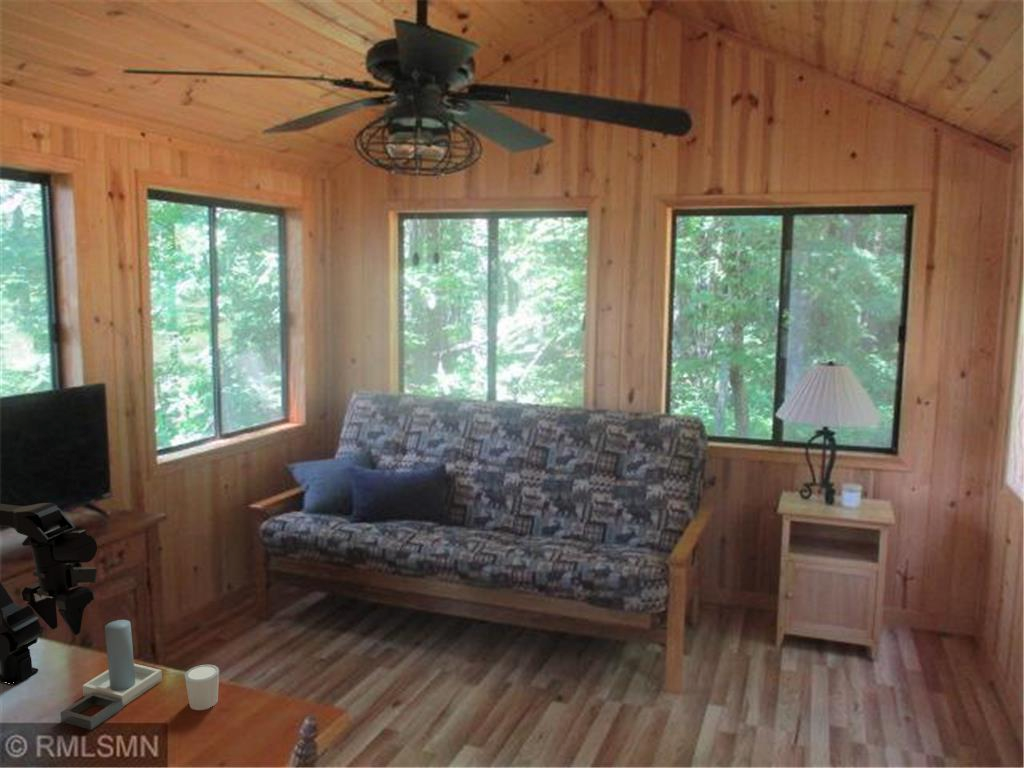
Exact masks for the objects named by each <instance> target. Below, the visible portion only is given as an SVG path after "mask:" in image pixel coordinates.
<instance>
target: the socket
mask: <svg viewBox="0 0 1024 768" xmlns="http://www.w3.org/2000/svg"><path fill="white" fill-rule="evenodd" d="M93 705H96V706H99V707H102V709H101V710H99V711H98V712H97V713H95V714H94V715H92V716H88V715H84V714H81V713H82V712H83V711H84V712H85V710H86V709H89V708H90V707H91V706H93ZM121 709H122V710H123V709H124V706H123V703H122V700H121V699H117V698H113V697H110V696H106V695H102V694H99V693H95V692H92V693H91V694H89V695H88V696H86V697H85V696H83V698H82V699H79V700H78V701H76V702H75V703H74V704H72V705H70V706H68V707H67V708H65V709H63V710H62V711H60V720H61V721H60V722H63V723H66V724H70V725H73V726H76V727H80V728H82V729H86V730H90V731H92V730H94V729H95V728H97V727H98V726H100V725H101V724H103V723H104V722H105V721H106V720H108V719H110V718H111V717H113V716H115V714H117V713H119V712H120V711H121Z"/></svg>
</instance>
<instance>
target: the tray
mask: <svg viewBox="0 0 1024 768" xmlns="http://www.w3.org/2000/svg"><path fill="white" fill-rule="evenodd" d="M134 671H135V684H134V686H132V687H131V688H129V689H126V690H122V691H113V690H111V689H110V680H109V669H107V670H105V671H103V672H102V673H100V674H99V675H97V676H96V677H93V678H92V679H90V680H89V681H87V682H86V683H84V684H82V694H83V695H82V696H83V697H86V696H88V695H89V694H91V693H92V692H95V693H99V694H102V695H106V696H110V697H113V698H117V699H121V700H122V703H123V707H125V706H127V705H128V704H129V703H131V702H133V701H134V700H135V699H137V698H138V697H140V696H141V695H143V694H144V693H146V692H148V690H150V689H152V688H154V687H155V686H156V685H157V684H160V683H161V682H163V675H162V670H161V669H158V668H154V667H152V666H151V667H150V666H145V665H141V664H138V663H135V662H134Z"/></svg>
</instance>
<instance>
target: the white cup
mask: <svg viewBox="0 0 1024 768" xmlns="http://www.w3.org/2000/svg"><path fill="white" fill-rule="evenodd" d="M184 680H185V685H186V692H187V699H188V703H189V707H190V708H191V709H192V710H195V711H204V710H208V709H210V707H211V708H212V706H213V707H214V706H216V705H217V703H218V700H219V685H220V684H219V681H220V669H219V667H218V666H217V665H214V664H202V665H197V666H194V667H191V668H190V669H188V670H187V671H186V672H185V673H184Z"/></svg>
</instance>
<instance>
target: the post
mask: <svg viewBox="0 0 1024 768" xmlns="http://www.w3.org/2000/svg"><path fill="white" fill-rule="evenodd" d="M104 632H105V633H104V635H105V636H104V637H105V646H106V655H107V668H108V669H107V670H109V680H110V689H111V690H113V691H122V690H126V689H129V688H131V687H132V686H134V684H135V671H134V663H135V660H134V650H133V649H134V648H133V635H132V627H131V621H130V620H127V619H117V620H113V621H110V622H109V623H107V624H106V625H105V626H104Z"/></svg>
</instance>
